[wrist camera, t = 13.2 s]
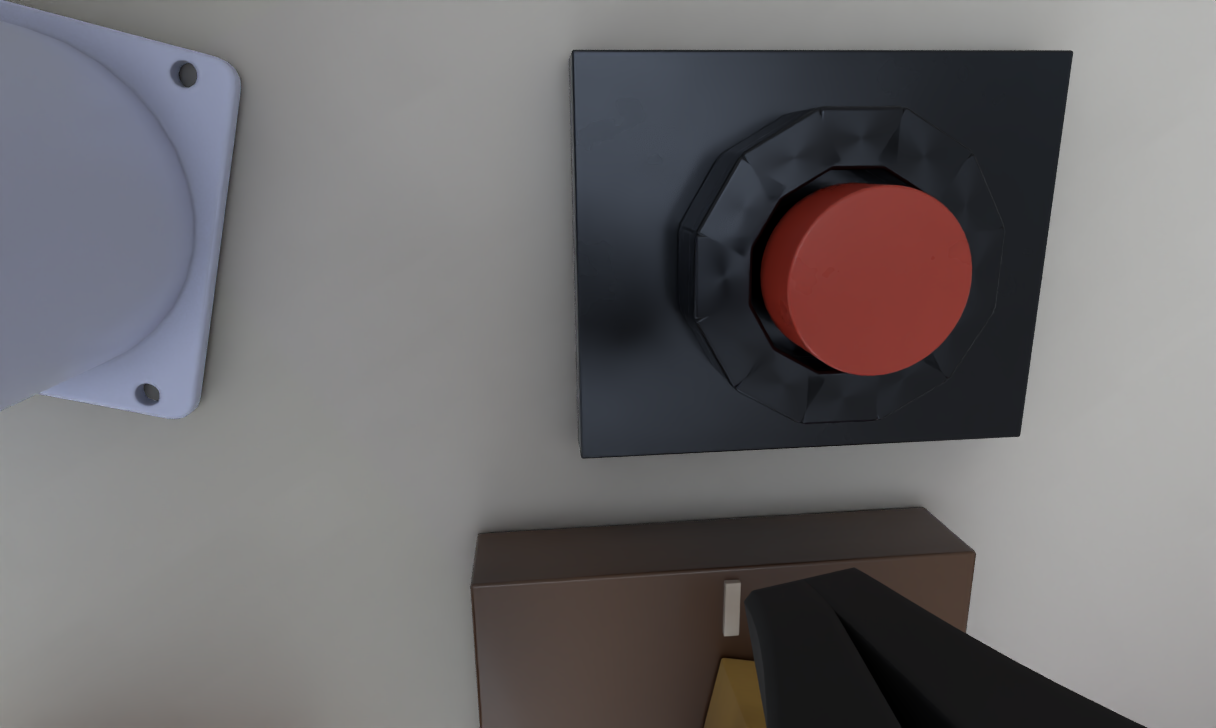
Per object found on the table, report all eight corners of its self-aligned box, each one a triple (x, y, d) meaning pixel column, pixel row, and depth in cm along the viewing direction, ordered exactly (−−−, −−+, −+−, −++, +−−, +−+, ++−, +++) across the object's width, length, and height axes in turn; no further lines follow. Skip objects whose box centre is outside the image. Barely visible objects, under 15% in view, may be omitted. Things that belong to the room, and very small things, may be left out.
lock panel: (497, 844, 22) (492, 934, 19) (477, 532, 19) (469, 589, 17) (892, 805, 23) (938, 886, 20) (924, 505, 20) (981, 555, 18)
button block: (578, 441, 19) (586, 491, 16) (568, 57, 16) (577, 34, 14) (992, 421, 20) (1070, 465, 17) (1038, 58, 17) (1139, 36, 15)
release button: (755, 357, 16) (783, 380, 14) (763, 184, 15) (792, 186, 13) (917, 351, 16) (962, 372, 15) (934, 181, 15) (984, 183, 14)
